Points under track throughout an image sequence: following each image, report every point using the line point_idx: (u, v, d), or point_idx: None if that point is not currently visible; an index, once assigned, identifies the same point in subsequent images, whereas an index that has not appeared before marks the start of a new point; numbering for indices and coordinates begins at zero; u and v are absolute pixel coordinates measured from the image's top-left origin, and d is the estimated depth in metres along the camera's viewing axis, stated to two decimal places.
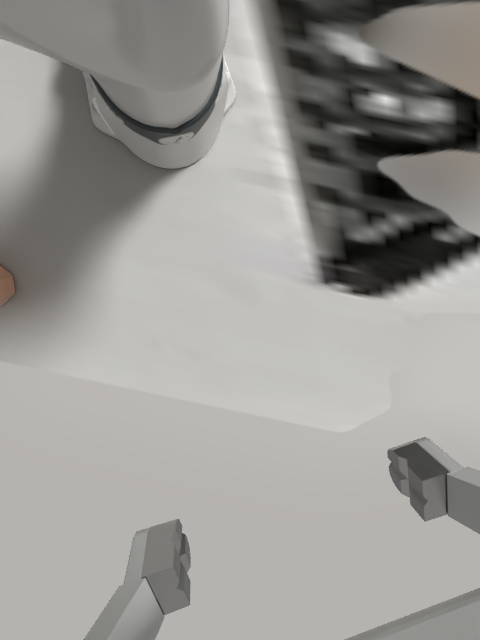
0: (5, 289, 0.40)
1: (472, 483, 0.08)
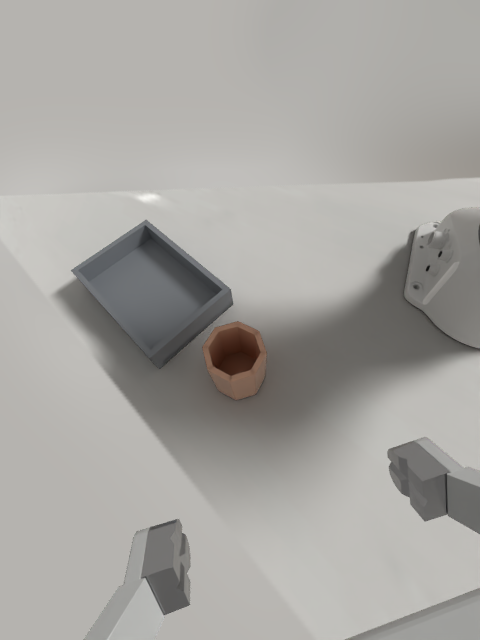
0: (259, 382, 0.35)
1: (472, 483, 0.08)
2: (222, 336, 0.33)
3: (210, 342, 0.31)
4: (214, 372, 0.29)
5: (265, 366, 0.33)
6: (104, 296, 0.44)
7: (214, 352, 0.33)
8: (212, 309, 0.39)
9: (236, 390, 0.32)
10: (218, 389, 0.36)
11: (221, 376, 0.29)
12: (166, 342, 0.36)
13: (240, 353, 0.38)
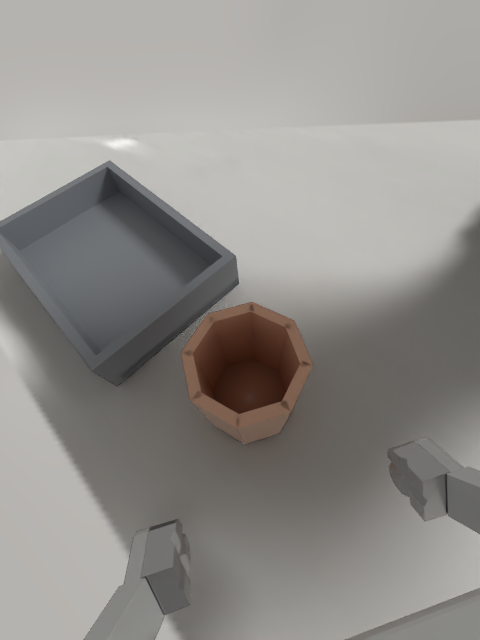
0: None
1: (472, 483, 0.08)
2: (221, 331, 0.17)
3: (197, 342, 0.15)
4: (204, 406, 0.14)
5: None
6: (40, 271, 0.28)
7: (206, 361, 0.18)
8: (205, 288, 0.24)
9: (248, 435, 0.17)
10: (214, 425, 0.21)
11: (219, 415, 0.14)
12: (124, 342, 0.21)
13: (251, 361, 0.23)
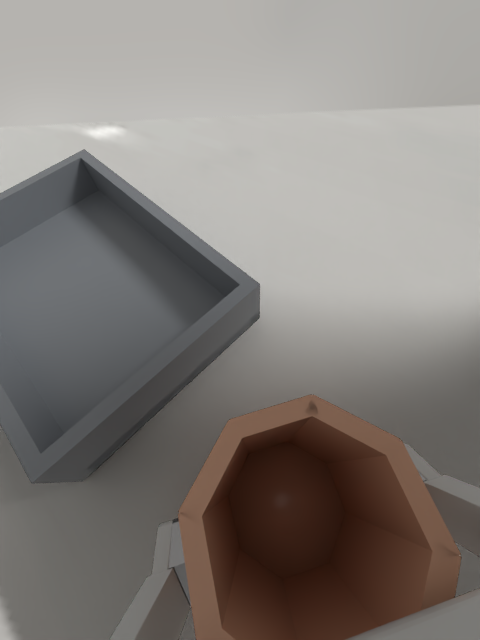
0: None
1: (448, 491, 0.08)
2: (252, 440, 0.10)
3: (211, 488, 0.08)
4: None
5: None
6: None
7: (224, 488, 0.10)
8: (215, 332, 0.16)
9: None
10: None
11: None
12: (87, 430, 0.13)
13: (286, 446, 0.15)
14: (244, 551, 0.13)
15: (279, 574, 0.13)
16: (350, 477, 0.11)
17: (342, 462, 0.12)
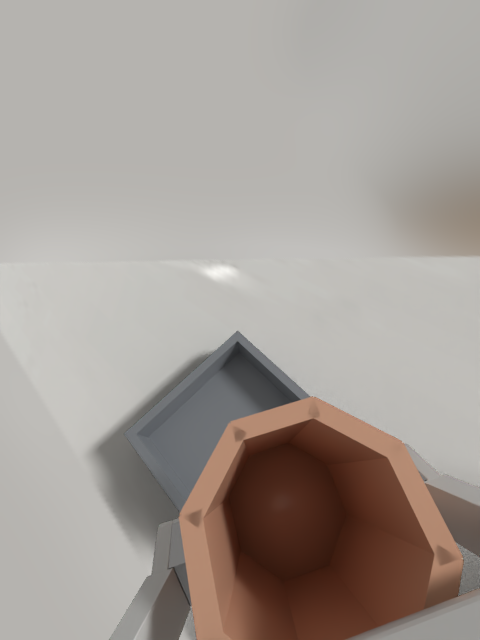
0: None
1: (448, 491, 0.08)
2: (253, 442, 0.09)
3: (212, 491, 0.08)
4: None
5: None
6: (177, 470, 0.26)
7: (224, 490, 0.10)
8: None
9: None
10: None
11: None
12: None
13: (287, 447, 0.15)
14: (245, 553, 0.13)
15: (280, 576, 0.13)
16: (351, 479, 0.11)
17: (343, 464, 0.12)
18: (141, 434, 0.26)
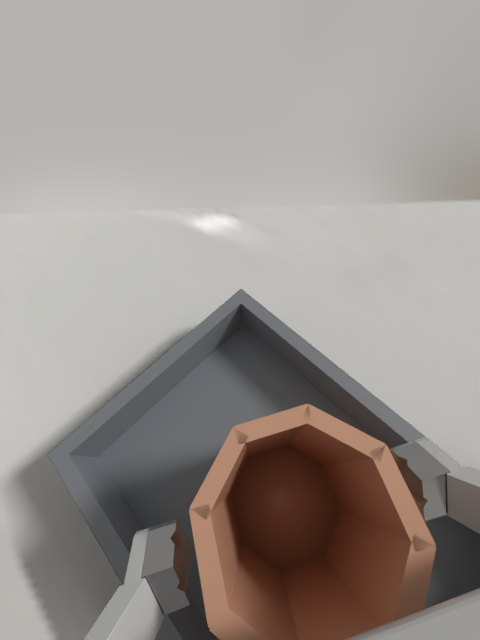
0: None
1: (472, 483, 0.08)
2: (254, 444, 0.11)
3: (218, 488, 0.09)
4: None
5: None
6: (142, 514, 0.16)
7: (228, 488, 0.11)
8: None
9: None
10: None
11: None
12: None
13: (285, 448, 0.16)
14: (246, 546, 0.14)
15: (278, 567, 0.14)
16: (343, 477, 0.12)
17: (336, 464, 0.13)
18: (81, 454, 0.15)
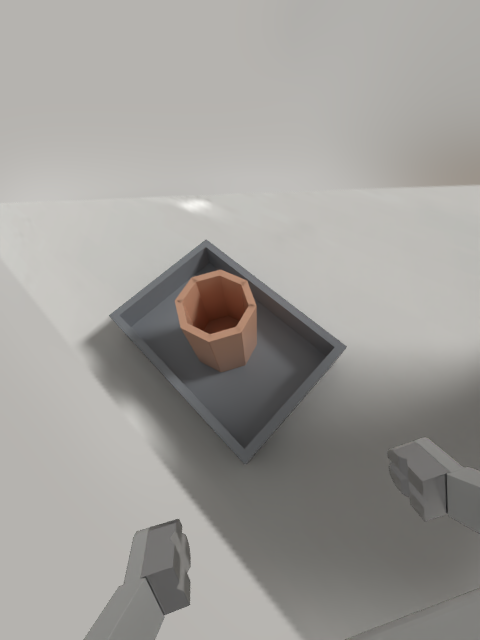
0: (249, 349, 0.28)
1: (472, 483, 0.08)
2: (201, 290, 0.26)
3: (185, 294, 0.24)
4: (189, 330, 0.23)
5: (256, 328, 0.27)
6: (155, 349, 0.31)
7: (192, 311, 0.27)
8: (321, 376, 0.27)
9: (219, 356, 0.26)
10: (199, 359, 0.30)
11: (198, 335, 0.22)
12: (266, 436, 0.24)
13: (227, 317, 0.32)
14: None
15: None
16: None
17: (243, 310, 0.28)
18: (124, 319, 0.31)
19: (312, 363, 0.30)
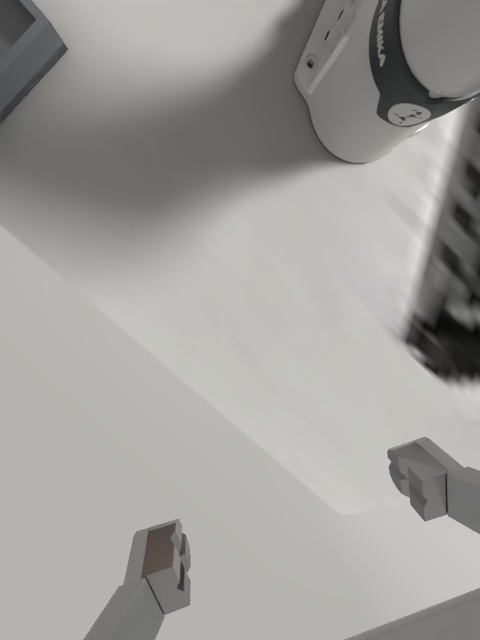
0: None
1: (472, 483, 0.08)
2: None
3: None
4: None
5: None
6: None
7: None
8: (29, 56, 0.28)
9: None
10: None
11: None
12: None
13: None
14: None
15: None
16: None
17: None
18: None
19: None
